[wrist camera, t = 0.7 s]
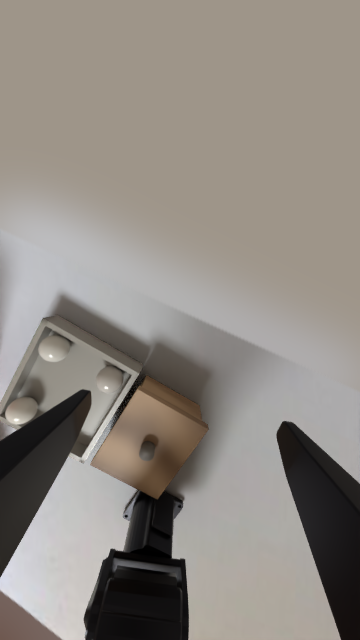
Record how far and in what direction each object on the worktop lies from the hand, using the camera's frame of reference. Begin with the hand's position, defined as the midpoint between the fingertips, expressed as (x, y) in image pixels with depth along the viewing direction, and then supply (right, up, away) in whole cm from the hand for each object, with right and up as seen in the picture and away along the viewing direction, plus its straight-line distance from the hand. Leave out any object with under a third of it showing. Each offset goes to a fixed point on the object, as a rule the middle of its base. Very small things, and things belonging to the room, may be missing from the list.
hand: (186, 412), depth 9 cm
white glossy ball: (-14, +1, +14) cm, 20 cm away
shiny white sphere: (-8, -2, +15) cm, 17 cm away
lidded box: (-4, -9, +17) cm, 19 cm away
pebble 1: (-19, -6, +15) cm, 25 cm away
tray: (-14, -4, +16) cm, 21 cm away
